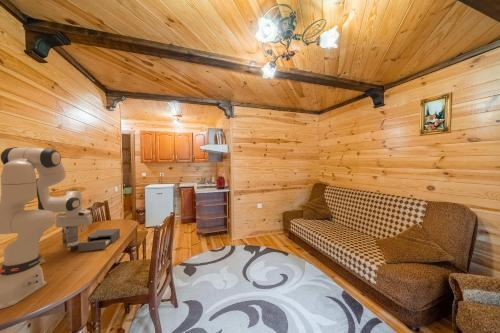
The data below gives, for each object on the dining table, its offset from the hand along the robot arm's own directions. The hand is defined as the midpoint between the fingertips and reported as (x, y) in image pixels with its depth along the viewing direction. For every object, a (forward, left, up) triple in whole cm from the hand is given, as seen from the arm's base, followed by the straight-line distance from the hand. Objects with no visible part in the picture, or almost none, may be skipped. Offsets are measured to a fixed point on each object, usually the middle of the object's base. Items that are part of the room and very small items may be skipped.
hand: (74, 231), depth 134 cm
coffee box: (+11, +8, -13) cm, 19 cm away
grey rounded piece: (0, 0, -13) cm, 13 cm away
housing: (+13, -13, -13) cm, 22 cm away
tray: (+1, -13, -12) cm, 18 cm away
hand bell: (-15, +11, -13) cm, 23 cm away
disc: (0, 0, -9) cm, 9 cm away
